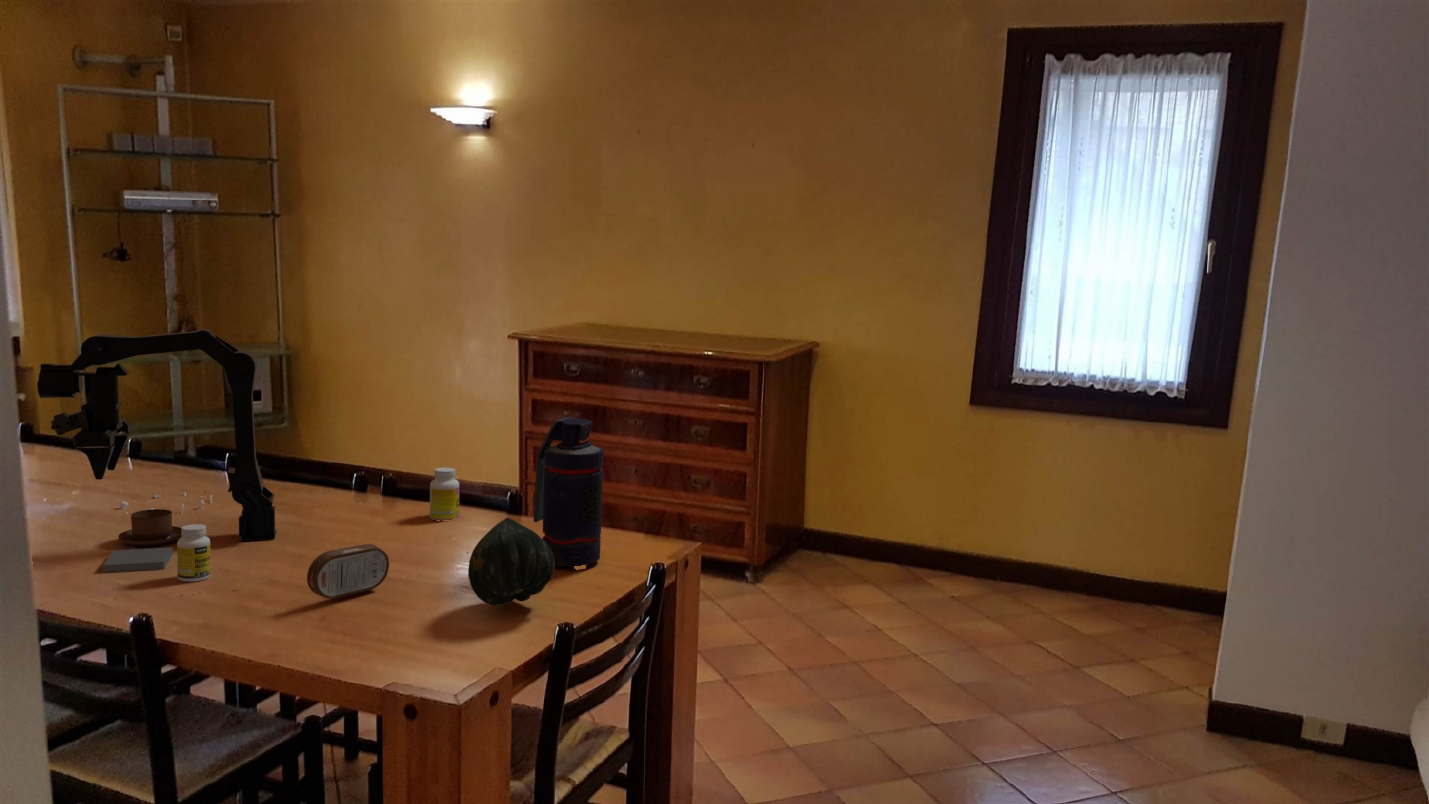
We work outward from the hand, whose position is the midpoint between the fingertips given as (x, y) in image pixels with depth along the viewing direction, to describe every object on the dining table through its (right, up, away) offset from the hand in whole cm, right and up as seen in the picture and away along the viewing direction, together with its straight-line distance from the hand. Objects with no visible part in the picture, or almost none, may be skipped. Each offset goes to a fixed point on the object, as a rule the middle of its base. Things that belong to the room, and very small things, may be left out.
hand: (105, 474), depth 195 cm
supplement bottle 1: (+26, -18, -15) cm, 35 cm away
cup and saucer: (+5, -15, +7) cm, 17 cm away
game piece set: (-5, -11, +32) cm, 34 cm away
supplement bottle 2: (+59, -14, +32) cm, 69 cm away
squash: (+86, -22, -21) cm, 92 cm away
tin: (+57, -20, -19) cm, 63 cm away
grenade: (+92, -19, +5) cm, 94 cm away
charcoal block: (+11, -17, -8) cm, 22 cm away
